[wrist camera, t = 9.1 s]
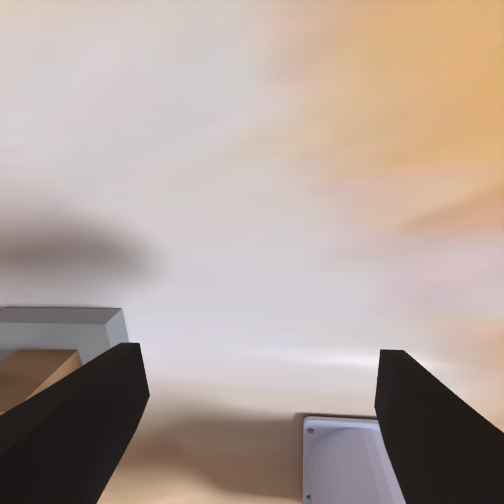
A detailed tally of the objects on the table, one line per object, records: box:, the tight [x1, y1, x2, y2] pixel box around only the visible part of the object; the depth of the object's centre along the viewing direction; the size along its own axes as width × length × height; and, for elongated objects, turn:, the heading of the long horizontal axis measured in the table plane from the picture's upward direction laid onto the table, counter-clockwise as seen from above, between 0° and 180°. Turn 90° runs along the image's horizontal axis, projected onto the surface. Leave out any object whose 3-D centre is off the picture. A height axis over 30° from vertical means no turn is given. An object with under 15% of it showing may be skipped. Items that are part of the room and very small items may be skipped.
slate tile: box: [0, 307, 129, 365], centre depth 22 cm, size 9×9×2 cm
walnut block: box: [0, 350, 83, 415], centre depth 18 cm, size 4×4×5 cm
